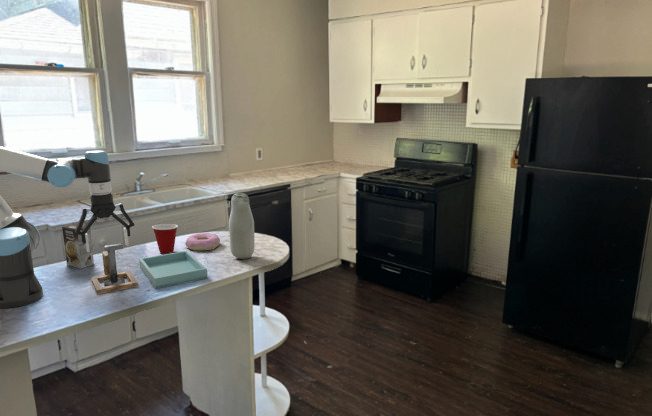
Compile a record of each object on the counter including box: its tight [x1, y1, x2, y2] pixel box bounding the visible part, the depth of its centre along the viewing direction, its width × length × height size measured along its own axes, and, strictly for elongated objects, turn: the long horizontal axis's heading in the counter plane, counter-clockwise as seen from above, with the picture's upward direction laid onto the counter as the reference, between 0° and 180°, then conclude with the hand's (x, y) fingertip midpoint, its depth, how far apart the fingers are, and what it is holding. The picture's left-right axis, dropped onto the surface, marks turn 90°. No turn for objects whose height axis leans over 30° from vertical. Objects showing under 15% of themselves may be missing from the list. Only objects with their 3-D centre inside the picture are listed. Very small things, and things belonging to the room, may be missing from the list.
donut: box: [184, 232, 221, 252], centre depth 218 cm, size 16×15×5 cm
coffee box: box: [61, 223, 95, 269], centre depth 192 cm, size 9×6×16 cm
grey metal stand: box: [103, 243, 126, 287], centre depth 173 cm, size 8×7×15 cm
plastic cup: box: [151, 223, 179, 255], centre depth 209 cm, size 11×11×12 cm
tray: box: [138, 250, 208, 289], centre depth 185 cm, size 19×25×4 cm
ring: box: [90, 250, 139, 295], centre depth 176 cm, size 14×20×9 cm
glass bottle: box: [228, 192, 256, 260], centre depth 200 cm, size 10×10×28 cm
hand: (107, 248), depth 181 cm, fingers open, 13 cm apart
